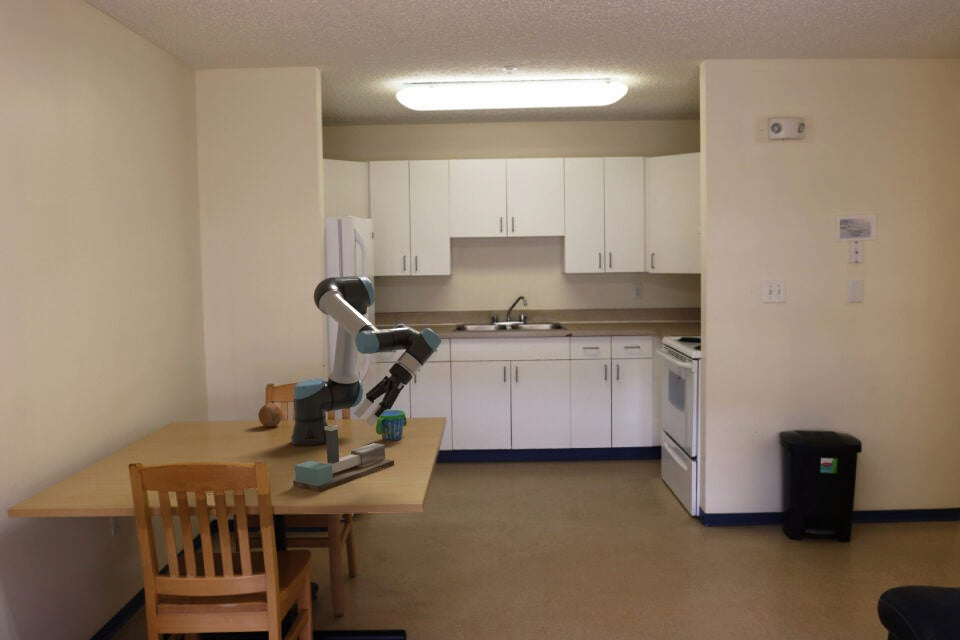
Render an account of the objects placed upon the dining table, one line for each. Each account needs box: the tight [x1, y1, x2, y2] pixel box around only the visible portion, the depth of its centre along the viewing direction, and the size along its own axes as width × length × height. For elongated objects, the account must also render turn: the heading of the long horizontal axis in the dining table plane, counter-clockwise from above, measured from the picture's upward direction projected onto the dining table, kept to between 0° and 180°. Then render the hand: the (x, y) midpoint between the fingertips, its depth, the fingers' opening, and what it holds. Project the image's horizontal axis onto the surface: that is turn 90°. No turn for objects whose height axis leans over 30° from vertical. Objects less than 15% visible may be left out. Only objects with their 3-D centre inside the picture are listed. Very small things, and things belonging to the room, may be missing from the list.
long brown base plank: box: [292, 442, 395, 492], centre depth 251 cm, size 12×34×6 cm, turn 145°
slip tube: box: [323, 424, 361, 474], centre depth 248 cm, size 3×22×14 cm, turn 145°
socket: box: [294, 460, 333, 486], centre depth 239 cm, size 10×6×5 cm, turn 55°
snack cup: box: [375, 409, 408, 441], centre depth 298 cm, size 16×10×10 cm
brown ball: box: [258, 402, 283, 428], centre depth 325 cm, size 10×10×10 cm
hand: (362, 419), depth 249 cm, fingers open, 13 cm apart
